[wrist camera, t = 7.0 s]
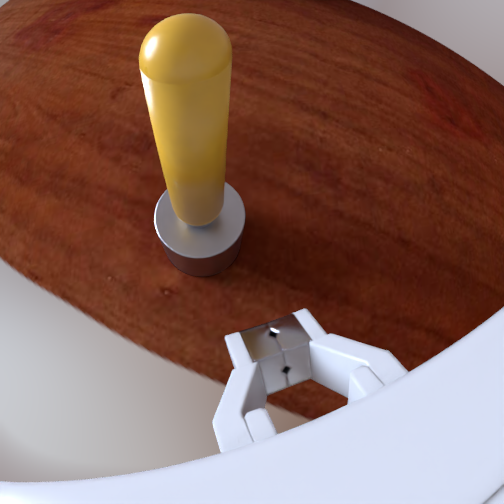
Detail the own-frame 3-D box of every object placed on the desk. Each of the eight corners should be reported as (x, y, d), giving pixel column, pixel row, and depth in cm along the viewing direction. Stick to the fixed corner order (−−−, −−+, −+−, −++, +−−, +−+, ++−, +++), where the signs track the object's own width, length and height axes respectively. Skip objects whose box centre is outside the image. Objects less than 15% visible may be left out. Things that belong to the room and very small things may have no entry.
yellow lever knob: (255, 230, 20) (315, 16, 6) (211, 292, 18) (196, 108, 5) (194, 192, 20) (178, -24, 7) (149, 248, 19) (53, 48, 5)
